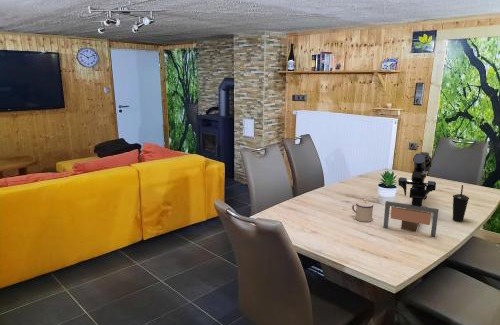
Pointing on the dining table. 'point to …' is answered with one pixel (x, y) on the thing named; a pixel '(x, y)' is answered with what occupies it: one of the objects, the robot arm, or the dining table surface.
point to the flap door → (410, 215)
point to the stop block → (409, 225)
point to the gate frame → (412, 207)
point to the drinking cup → (459, 206)
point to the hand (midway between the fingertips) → (414, 197)
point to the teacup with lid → (363, 210)
